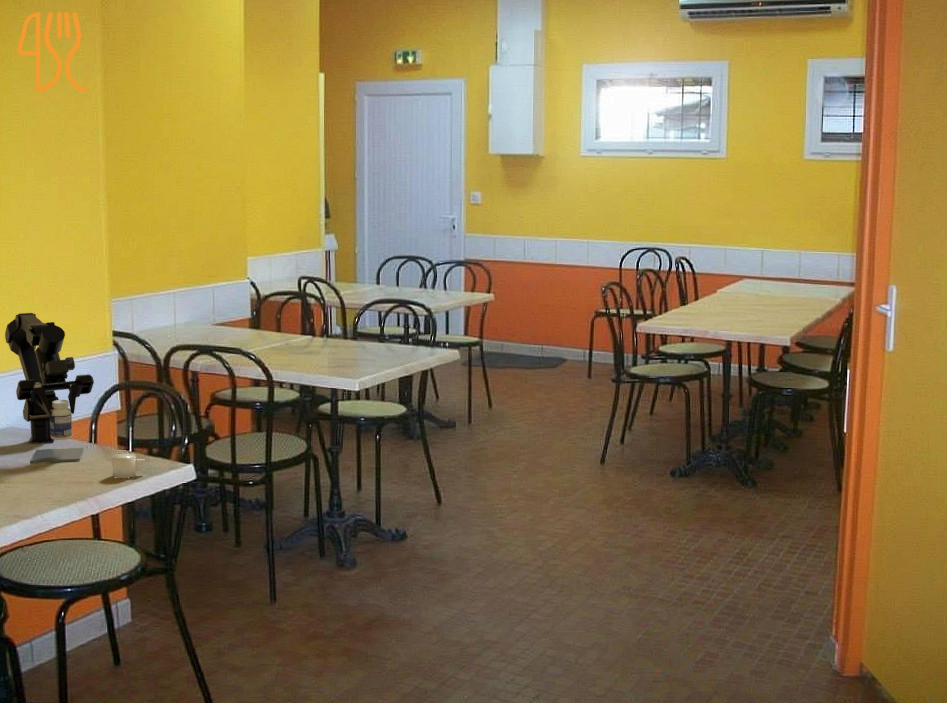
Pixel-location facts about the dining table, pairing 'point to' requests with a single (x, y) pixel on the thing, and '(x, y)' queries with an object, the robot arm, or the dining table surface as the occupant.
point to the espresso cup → (126, 465)
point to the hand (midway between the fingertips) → (61, 414)
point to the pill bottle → (60, 420)
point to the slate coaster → (57, 455)
